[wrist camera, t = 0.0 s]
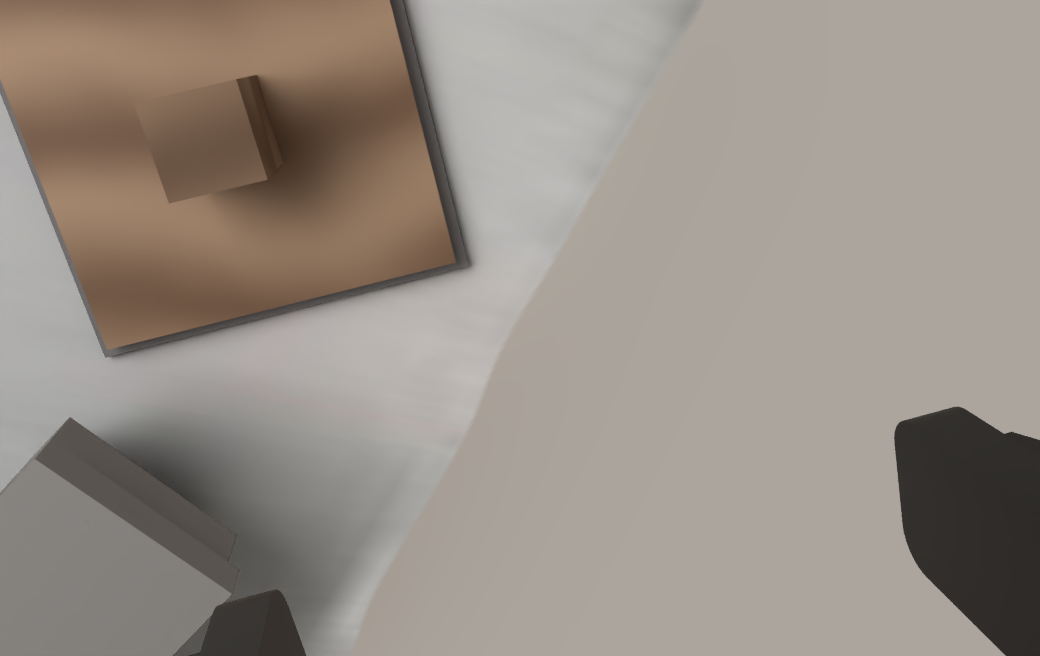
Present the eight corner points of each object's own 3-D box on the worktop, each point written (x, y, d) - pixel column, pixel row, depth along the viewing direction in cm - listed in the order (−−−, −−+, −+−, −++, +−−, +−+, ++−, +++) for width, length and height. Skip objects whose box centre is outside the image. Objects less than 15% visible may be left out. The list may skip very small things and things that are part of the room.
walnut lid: (-32, -25, 34) (-114, -39, 28) (361, -113, 35) (355, -142, 29) (112, 344, 39) (66, 393, 33) (454, 258, 40) (464, 292, 34)
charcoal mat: (-46, -35, 34) (-51, -36, 34) (370, -128, 35) (370, -130, 35) (107, 354, 39) (105, 357, 39) (467, 264, 40) (468, 266, 40)
